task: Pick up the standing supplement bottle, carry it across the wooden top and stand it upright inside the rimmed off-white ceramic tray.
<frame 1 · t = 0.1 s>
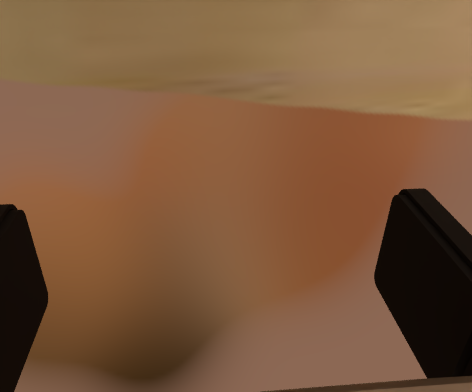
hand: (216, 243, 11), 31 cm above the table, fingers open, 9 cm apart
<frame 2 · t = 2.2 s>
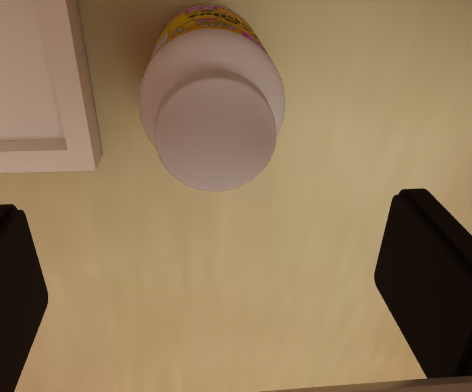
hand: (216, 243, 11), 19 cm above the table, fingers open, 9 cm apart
supplement bottle: (207, 58, 27), on the table
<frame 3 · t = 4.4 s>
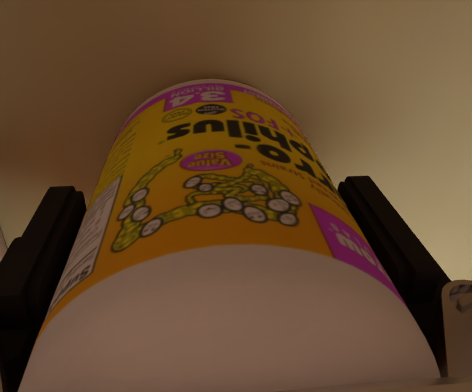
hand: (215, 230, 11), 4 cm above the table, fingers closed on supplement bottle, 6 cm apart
supplement bottle: (209, 165, 15), on the table, touching gripper
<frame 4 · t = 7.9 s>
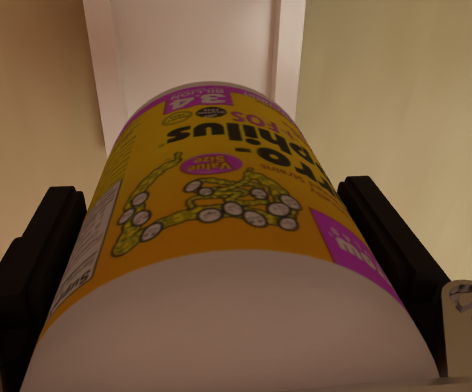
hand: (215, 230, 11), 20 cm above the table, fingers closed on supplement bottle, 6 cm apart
supplement bottle: (209, 166, 15), point 16 cm above the table, touching gripper
ceramic tray: (198, 58, 29), on the table
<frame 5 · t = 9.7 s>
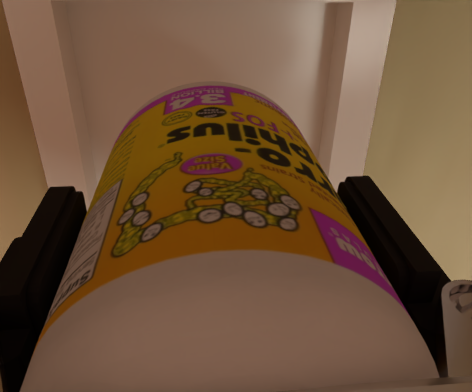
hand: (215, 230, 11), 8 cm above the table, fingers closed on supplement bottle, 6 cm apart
supplement bottle: (209, 167, 15), point 5 cm above the table, touching gripper
ceramic tray: (207, 118, 19), on the table
when the fingers open (6 cm above the table, at t = 11.3 s): supplement bottle drops 1 cm, resting on ceramic tray.
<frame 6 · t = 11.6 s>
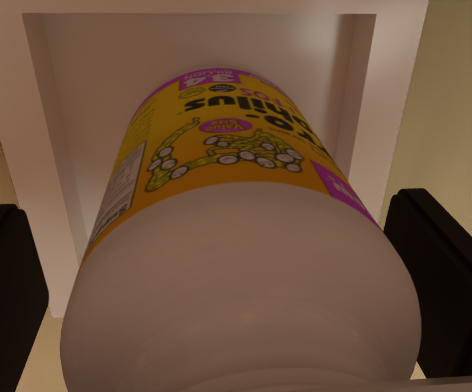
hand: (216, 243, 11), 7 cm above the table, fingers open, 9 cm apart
supplement bottle: (215, 146, 16), point 1 cm above the table, touching ceramic tray
ceramic tray: (206, 141, 17), on the table
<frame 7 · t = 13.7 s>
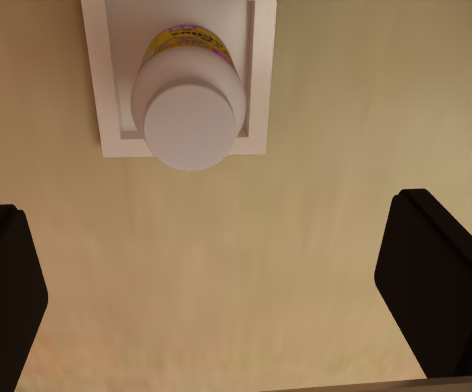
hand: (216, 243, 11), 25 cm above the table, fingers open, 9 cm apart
supplement bottle: (187, 67, 32), point 1 cm above the table, touching ceramic tray
ceramic tray: (183, 66, 33), on the table
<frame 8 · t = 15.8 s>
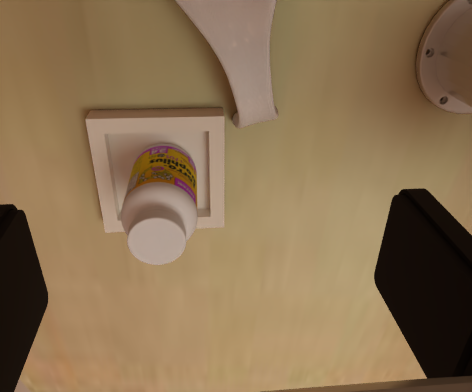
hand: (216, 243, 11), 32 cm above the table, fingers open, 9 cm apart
supplement bottle: (165, 169, 45), point 1 cm above the table, touching ceramic tray
ceramic tray: (162, 167, 45), on the table
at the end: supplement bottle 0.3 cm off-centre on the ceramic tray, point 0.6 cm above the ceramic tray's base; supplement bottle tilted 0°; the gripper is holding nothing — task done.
